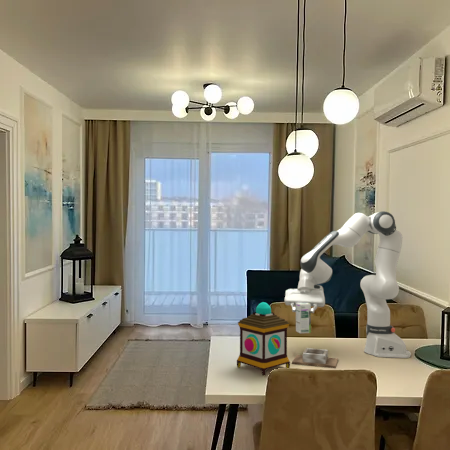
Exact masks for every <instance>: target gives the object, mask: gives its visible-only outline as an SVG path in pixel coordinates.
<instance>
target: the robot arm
mask: <svg viewBox="0 0 450 450" xmlns="http://www.w3.org/2000/svg"><path fill="white" fill-rule="evenodd" d="M366 233H371V234H374V235H379V243H378V248H377V250H376V254H375V258H374V265H375V274H369V275H365V276H363V278H362V279H360V289H361V290H362V292H363V295H364V298H365V304H366V308H367V311H366V312H367V313H366V314H367V318H366V319H367V322H366V325H365V326H366V327H365V328H366V329H365V330H366V331H365V332H366V340H365V347H364V349H363V352H364V353H366V354H368V355H372V356H375V357H377V358H399V359H401V358H402V359H409V358H410V357H411V356H412V355H411V354H412V353H411V351H410V350H408V349H407V347H406V342H405V341H404V339H402V338H401V337H400V336H399V335H397V334H396V333H395V332H396V328H395V327H394V326H393V325H391V310H390V307H389V305H388V303H387V300H392V299H395V298H396V297H397V296H398V294H399V292H400V291H399V290H400V287H399V284H398V282H397V267H398V262H399V258H400V254H401V250H402V246H403V234H402V233H401V232H400V231H399V230H398V229H397V225H396V220H395V217H394V216H393V214H392V213H391V212H388V211H377V212H374V213H373V214H370V215H366V214H365V213H362V212H356V213H354V214H353V215H352V216H351V217H349V219H348V220H347V221H345V223H344V224H343V225H342V226H341V227H340V228H339V229H338V230H332V231H331V232H329V233H328V234H326V236H324V237H323V238H322V239H321V240H320V241H319V242H318V243H317V244H315V246H314V247H312V249H311V250H309V251H308V252H306V253H305V254H303V256H302V257H301V259H300V268H301V269H300V271H299V281H298V285H297V288H288V289H286V290H285V293H284V296H285V297H284V301H283V302H284V304H285V305H286V306H290V307H291V311H292V313H296V303H310V304H311V307H312V308H311V314H314V313H315V311H316V310H317V309H318V307H319V308H323V307H325V305H326V297H325V293H324V291H325V290H324V287H323V286H322V284H325V283H328V282H329V281H330V280H331V278H332V276H333V269H332V267H331V266H329V264H327V263H326V262H325V261H324V260H322V259H321V256H322V255H323V254H324V253H325V252H326V251H327V250H329V248H331V246H340V247H343V248H353V247H354V246H356V245H358V243H359V242H360V241H361V239H362V238H363V237H364V236H365V234H366Z"/></svg>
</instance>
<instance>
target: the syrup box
mask: <svg viewBox="0 0 450 450" xmlns="http://www.w3.org/2000/svg"><path fill="white" fill-rule="evenodd" d="M311 307H312V306H311V304H310V303H296V306H295V308H296V312H295V332H297V333H299V334H311V333H312V330H311V329H312V324H311V323H312V322H311V321H312V319H311V317H312V313H311Z"/></svg>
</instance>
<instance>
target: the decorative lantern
mask: <svg viewBox="0 0 450 450" xmlns="http://www.w3.org/2000/svg"><path fill="white" fill-rule="evenodd" d="M237 325H238V327H239V355H238V357H237V360H236V367H237V368H238V369H239V368H241V366H242V365H241V364H244V365H246V366H250V367H252V368H256V369H259V370H260V371H261V374H262V376H263V377H265V376H266V372H267V370H269V369H273V368H275V367H281V366H284V365H285V368H286V369H287V368H289V369H290V368H291V361H290V359H289V357H288V328H289V326H290V322H288V320H285V318H282V317H279V316H278V315H277V314H276V313H275V312H272V308H271V306H270V304H268V303H267V302H264V301H262V302H260V303H258V305H257V306H256V308H255V311H254V312H252V313H251V314H250V315H248V316H247V317H242V318H241V319H240V320H239V321H237Z"/></svg>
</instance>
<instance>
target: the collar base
mask: <svg viewBox="0 0 450 450" xmlns="http://www.w3.org/2000/svg"><path fill="white" fill-rule="evenodd" d="M338 362H339V358H337V357H329V350H328V349H322V348H321V349H320V348H312V347H311V348H309V347H306V348H305V349H304V351H303V352H302V354H296V355H295V357H294V358H293V360H291V364H292V365H301V366H308V367H320V368H321V367H322V368H330V369H336V367H337V365H338Z"/></svg>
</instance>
